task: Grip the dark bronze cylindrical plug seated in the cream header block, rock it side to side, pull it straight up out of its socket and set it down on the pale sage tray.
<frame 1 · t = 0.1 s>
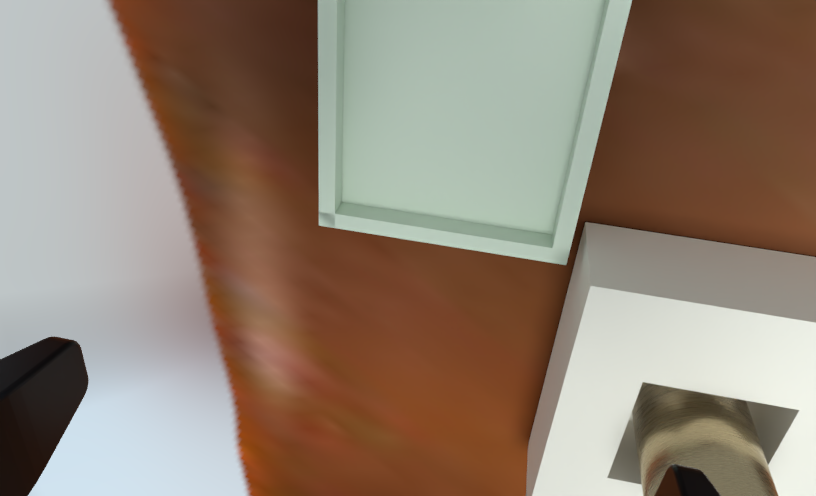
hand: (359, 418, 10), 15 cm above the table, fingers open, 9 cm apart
plug: (681, 382, 26), point 1 cm above the table, touching header
tray: (460, 96, 22), on the table
header: (678, 368, 26), on the table
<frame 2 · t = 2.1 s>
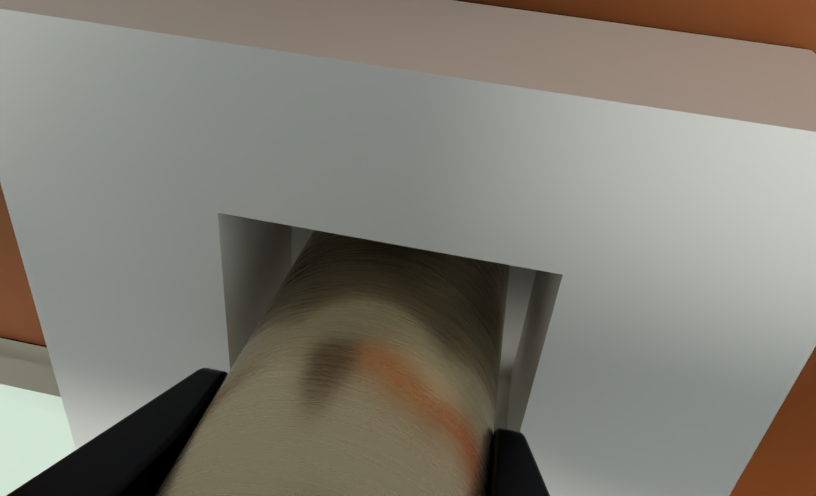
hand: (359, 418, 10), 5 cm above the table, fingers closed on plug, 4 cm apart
plug: (409, 263, 13), point 1 cm above the table, touching gripper, header
tray: (72, 453, 20), on the table
header: (416, 243, 14), on the table
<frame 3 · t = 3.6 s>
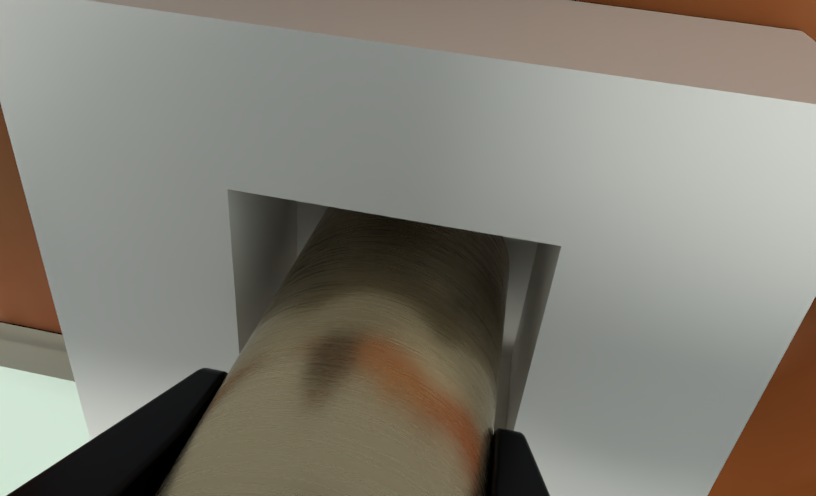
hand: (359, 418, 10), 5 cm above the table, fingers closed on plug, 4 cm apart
plug: (409, 263, 13), point 1 cm above the table, touching gripper
tray: (80, 440, 21), on the table
header: (419, 225, 14), on the table
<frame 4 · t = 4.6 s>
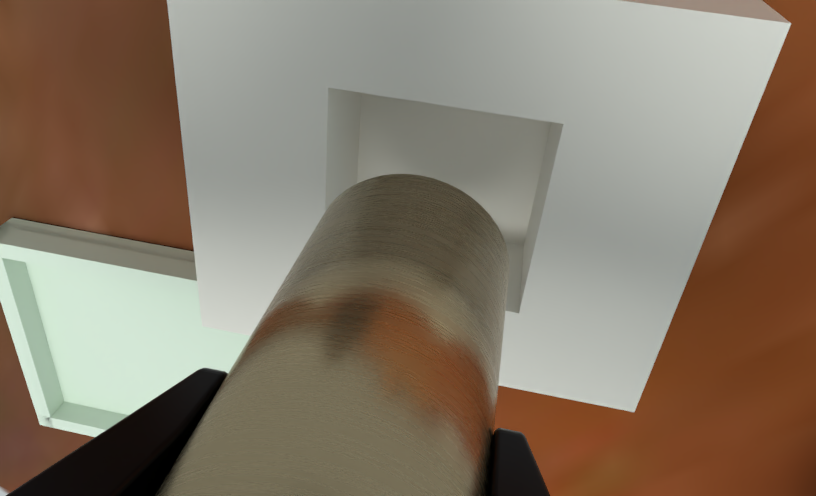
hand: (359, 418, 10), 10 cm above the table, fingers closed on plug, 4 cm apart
plug: (410, 263, 13), point 6 cm above the table, touching gripper
tray: (160, 341, 25), on the table
header: (452, 140, 18), on the table
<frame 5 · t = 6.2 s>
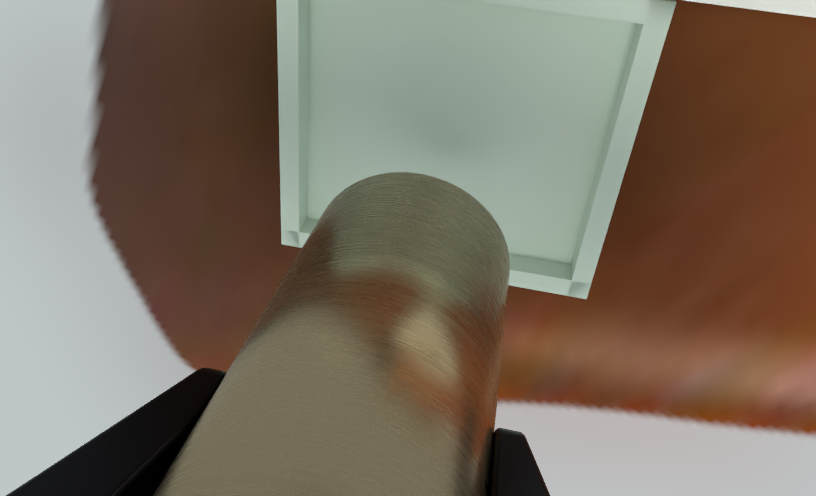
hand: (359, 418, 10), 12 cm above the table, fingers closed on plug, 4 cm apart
plug: (410, 261, 13), point 8 cm above the table, touching gripper
tray: (453, 123, 20), on the table
when the fingers open (6 cm above the table, at t = 7.4 s): plug stays where it is, resting on tray.
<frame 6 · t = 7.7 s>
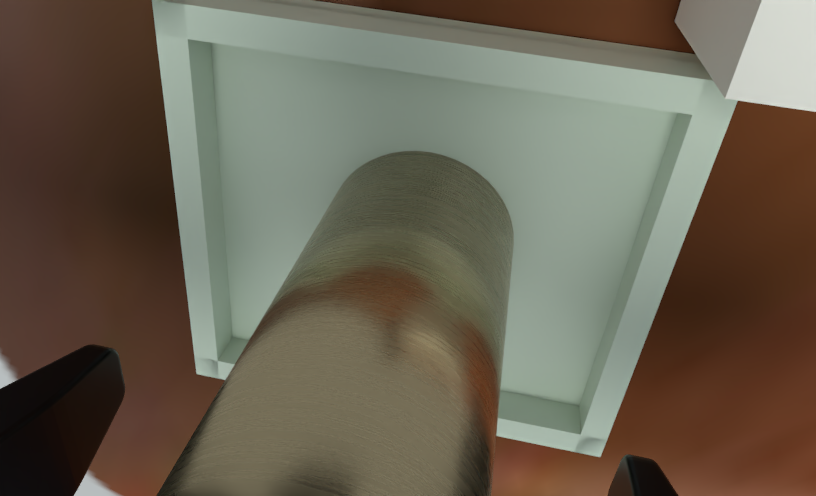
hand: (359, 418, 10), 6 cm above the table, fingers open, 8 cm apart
plug: (419, 236, 14), point 1 cm above the table, touching tray
tray: (421, 225, 15), on the table
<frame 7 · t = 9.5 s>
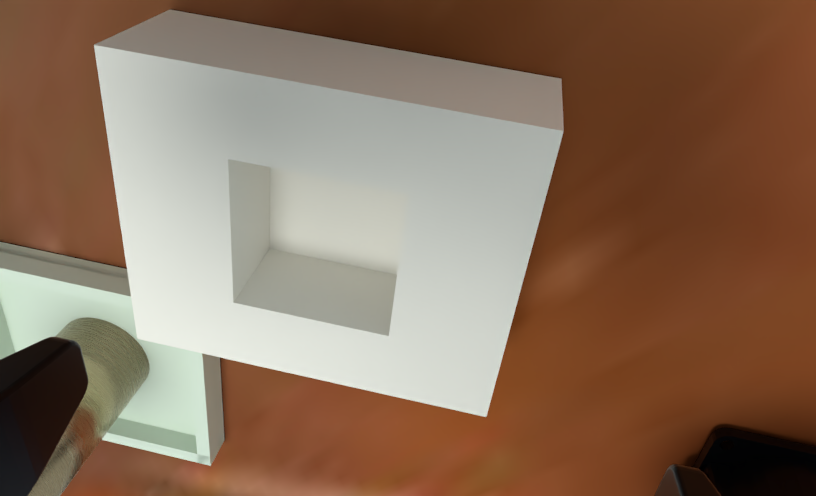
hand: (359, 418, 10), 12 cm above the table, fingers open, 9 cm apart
plug: (105, 354, 28), point 1 cm above the table, touching tray
tray: (112, 346, 29), on the table
header: (348, 190, 22), on the table
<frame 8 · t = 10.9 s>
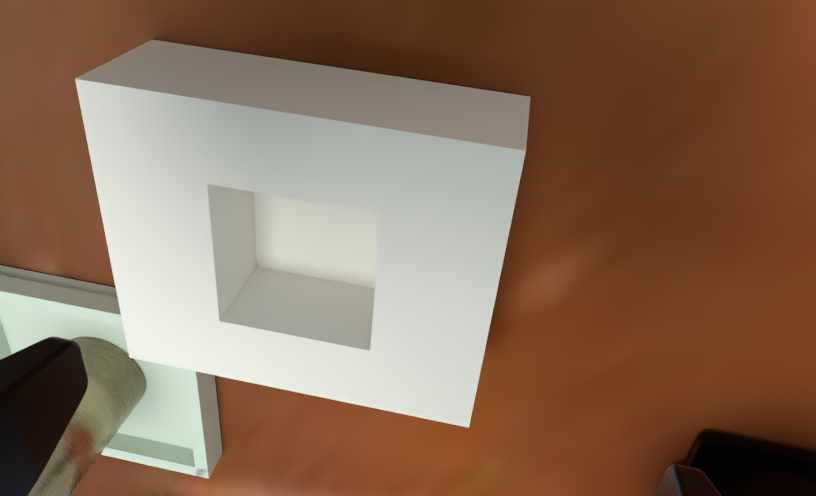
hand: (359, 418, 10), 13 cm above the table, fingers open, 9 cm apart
plug: (103, 371, 29), point 1 cm above the table, touching tray
tray: (110, 363, 29), on the table
header: (331, 208, 23), on the table
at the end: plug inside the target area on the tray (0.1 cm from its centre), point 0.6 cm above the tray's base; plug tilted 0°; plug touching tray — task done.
